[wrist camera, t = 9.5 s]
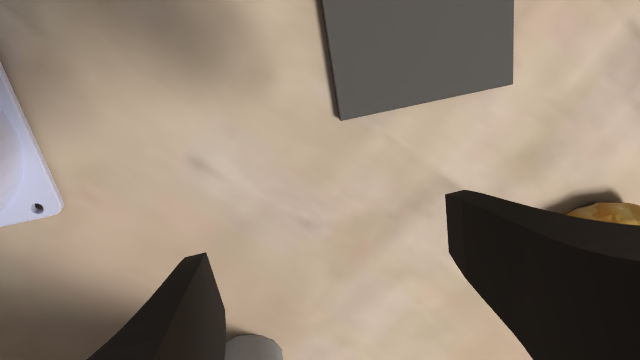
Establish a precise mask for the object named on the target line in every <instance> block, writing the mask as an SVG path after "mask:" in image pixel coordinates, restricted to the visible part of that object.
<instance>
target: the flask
mask: <svg viewBox="0 0 640 360" xmlns="http://www.w3.org/2000/svg"><path fill="white" fill-rule="evenodd" d="M225 360H283V356H282V349H281V348H280V347H279V346H278V344H277V343H276V342H275V341H274V340H271V339H269V338H266V337H263V336H260V335H253V334H252V335H241V336H236V337H234V338H233V339H231V340H229V341H228V342H226V349H225Z"/></svg>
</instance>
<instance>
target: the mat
mask: <svg viewBox="0 0 640 360" xmlns="http://www.w3.org/2000/svg"><path fill="white" fill-rule="evenodd" d="M321 3H322V10H323V16H324V23H325V29H326V36H327V42H328V49H329V55H330V62H331V68H332V75H333V81H334V87H335V94H336V100H337V107H338V113H339V119H340V120H341V121H343V120H347V119H352V118H357V117H361V116H366V115H371V114H375V113H380V112H385V111H389V110H394V109H399V108H404V107H408V106H413V105H418V104H422V103H427V102H432V101H436V100H441V99H446V98H450V97H455V96H460V95H465V94H469V93H474V92H479V91H483V90H488V89H493V88H497V87H502V86H507V85H511V84H513V27H514V0H321Z"/></svg>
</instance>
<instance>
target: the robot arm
mask: <svg viewBox="0 0 640 360" xmlns="http://www.w3.org/2000/svg"><path fill="white" fill-rule="evenodd" d="M445 199H446V214H447V230H448V245H449V253H450V255H451V256H452V258H453V260H454V261H455V263H456V265H457V266H458V268H459V269H460V271H461V272H462V274H463V275H464V277H465V278H466V279H467V281H468V282H469V283H470V284H471V285H472V286H473V288H474V289H475V290H476V291H477V292H478V293H479V295H480V296H481V297H482V298H483V299H484V300H485V301H486V303H487V304H488V305H489V306H490V307H491V308H492V309H493V311H494V312H495V313H496V314H497V315H498V316H499V317H500V319H501V320H502V321H503V322H504V323H505V324H506V325H507V327H508V328H509V329H510V330H511V331H512V332H513V333H514V335H515V336H516V337H517V338H518V340H519V341H520V342H521V343H522V345H523V346H524V347H525V349H526V350H527V352H528V353H529V354H530V356H531V357H532V359H533V360H640V225H629V224H620V223H611V222H604V221H598V220H591V219H585V218H579V217H574V216H568V215H564V214H559V213H555V212H550V211H546V210H542V209H538V208H534V207H530V206H526V205H522V204H519V203H515V202H511V201H508V200H504V199H501V198H497V197H494V196H490V195H486V194H482V193H478V192H474V191H469V190H462V191H458V192H454V193H449V194H445ZM35 203H38V204H41V205H42V206H43V208H44V210H39V209H37V208H36V207H35ZM63 206H64V203H63V200H62V197H61V195H60V193H59V191H58V188H57V186H56V184H55V182H54V180H53V177H52V175H51V173H50V171H49V168H48V166H47V164H46V162H45V160H44V157H43V155H42V153H41V151H40V148H39V146H38V144H37V142H36V140H35V137H34V135H33V133H32V131H31V128H30V126H29V124H28V122H27V120H26V117H25V115H24V113H23V111H22V108H21V106H20V104H19V102H18V100H17V97H16V95H15V93H14V91H13V88H12V86H11V84H10V82H9V80H8V77H7V75H6V73H5V71H4V68H3V66H2V64H1V62H0V227H3V226H8V225H12V224H17V223H21V222H26V221H30V220H35V219H39V218H44V217H48V216H53V215H56V214H58V213H59V212H60V211H61V209H62V208H63ZM225 349H226V322H225V309H224V306H223V303H222V299H221V296H220V293H219V290H218V287H217V284H216V281H215V278H214V275H213V272H212V269H211V266H210V263H209V260H208V257H207V254H206V253H202V254H197V255H193V256H189V257H185V258H184V259H183V260H182V261H181V262H180V263H179V264H178V265H177V267H176V268H175V269H174V270H173V271H172V273H171V274H170V275H169V276H168V278H167V279H166V280H165V281H164V282H163V284H162V285H161V286H160V287H159V288H158V289H157V291H156V292H155V293H154V294H153V295H152V297H151V298H150V299H149V300H148V301H147V302H146V303H145V304H144V305H143V306H142V308H141V309H140V310H139V311H138V312H137V313H136V314H135V315H134V316H133V317H132V318H131V319H130V320H129V321H128V323H127V324H126V325H125V326H124V327H123V328H122V329H121V330H120V331H118V332H117V333H116V334H115V335H114V336H113V337H112V338H111V339H110V340H109V341H108V342H107V343H105V344H104V345H103V346H102V347H101V348H100V349H99V350H98V351H96V352H95V353H94V354H93V355H92V356H91V357H89V358H88V359H87V360H225Z"/></svg>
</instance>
